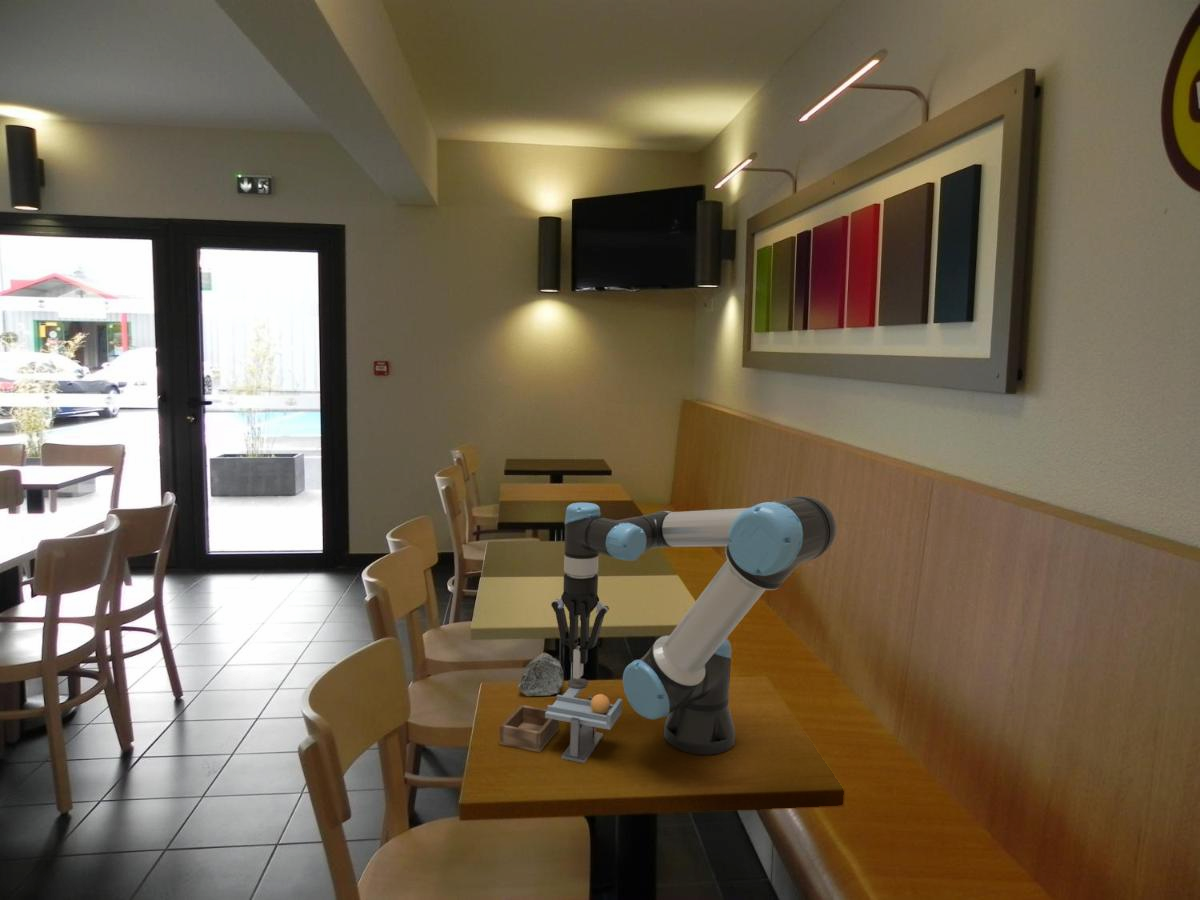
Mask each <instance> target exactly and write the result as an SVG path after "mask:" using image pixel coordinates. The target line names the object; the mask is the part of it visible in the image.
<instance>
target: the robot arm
mask: <svg viewBox="0 0 1200 900" xmlns="http://www.w3.org/2000/svg"><path fill="white" fill-rule="evenodd" d="M565 510H566V511H565V518H564V519H565V520H564V558H563V572H564V574H563V587H562V588H563V592H562V594H561V596H560V598H556V599H555V600H554V601H552V602H551V608H552V609H553V611H554V612H555V613H554V614H555V617H556V622H557V627H558V631H559V637H560V641H561V644H562V646H565V645H566V646H567V647H568V649H569V659H568V660H569V663H572V679H574V678H576V679H580V678H581V677H582V676H583V675H584V665H585V664H586V663H587V662H588V660H589V659H588V657H589V655H588V654H589V652H588V651H589V650H592V649H593V648H594V647H595V646H596V645H597V643H598V639H599V636H600V632H601V629H602V626H603V621H604V618H605V615H606V614H607V613H608V612H609V610H610V608H609V606H608V605H603V604H602V603H601V602H600V598H599V596H598V595H599V594H598V589H599V585H598V583H599V576H598V572H599V556H600V554H602V555H605V556H607V557H611V558H614V559H617V560H620V561H629V562H633V561H636V560H638V559H639V558H640V556H642V555H643V554H644V552H645V551H647V550H652V549H657V548H675V547H676V548H679V547H680V548H681V547H683V548H684V547H686V548H688V547H689V548H691V547H694V548H695V547H696V548H697V547H725V551H724V552H725V556H726V561H725V562H724V563H723V565H722V566H721V567H720V569H718V571H717V573H715V575H714V577H713V578H712V579H711V581H710V582H709V583H708V584H707V586H706V587H705V588H704V590H703V591H702V592H701V594H700V595H698V597H697V599H696V600H695V601H694V603H693V604H692V606H691V607H690V608H689V610H688V611H687V612H686V614H685V615H684V616H683V618H681V620H680V621H679V623H678V624H677V625H676V627H675V628H674V630H672V632H671V633H670V635H662V636H659V638H658V639H657V640H655V642H654V643H653V644H652V645H651V647H650V648H649V650H648V651H647V652H646V653H645V654H644V655H643V657H641V658H640V659H635V660H633V661H632V662H630V663H629V664H628V665H627V666H626V667H625V669H624V670H623V674H622V685H623V688H624V689H623V691H624V695H625V697H626V699H627V701H628V703H629V705H630V706H631V707H632V709H633V710H634V711H635V712H636V713H637V714H638V715H640V716H641V717H643V718H645V719H649V720H657V719H661V718H664V717H666V720H665V721H664V728H663V731H664V732H663V736H664V737H663V738H664V739H665V741H666V742H667V743H668V744H669V745H670V746H672V747H673V748H675V749H677V750H679V751H682V752H685V753H688V754H689V753H690V754H694V755H703V756H705V755H706V756H707V755H717V754H720V753H721V754H722V753H724V752H727V751H728V750H730V749H731V748H732V747H734V745H735V742H736V740H735V739H736V728H735V726H734V725H735V724H734V721H733V718H732V714H731V710H730V707H729V701H730V700H729V698H730V697H729V696H730V682H731V678H730V677H731V667H732V666H731V664H732V657H733V656H732V644H731V642H730V640H729V639H728V637H729V636H730V635H731V633H732V632H733V631H734V630H735V628H736V627H737V626H738V624H739V623H740V622H741V621H742V620H743V618H744V617H745V616H746V615H747V614H748V613H749V611H750V610H751V609H752V607H753V606H754V605H755V604H756V602H757V601H758V600H759V599H760V598H761V596H763V594H764V593H765V592H766V591H774V590H777V589H779V588H780V587H781V586H782V585H783V583H784V582H785V581H786V580H787V578H788V577H789V576H790V575H791V574H792V573H793V571H794V570H795V569H796V568H797V567H798V566H799V565H801V564H803V563H806V562H810V561H812V560H815V559H817V558H819V557H821V556H822V555H824V554H826V553H827V552H828V550H830V548H831V547H832V545H833V543H834V541H835V539H836V535H837V521H836V519H835V516H834V514H833V512H832V511H831V509H830V508H829V506H828V505H826V504H825V503H824V501H821V500H820V499H819V498H816V497H811V496H809V495H799V496H793V497H788V498H785V499H780V500H775V501H772V502H771V501H768V502H767V501H766V502H761V503H757V504H755V505H752V506H750V507H742V508H741V507H740V508H724V509H704V510H703V509H702V510H689V511H687V510H686V511H670V510H662V511H661V510H660V511H655V512H653V513H649V514H644V515H640V516H639V515H638V516H633V517H628V518H622V519H617V520H616V519H609V518H606V517H603V516H601V515H602V513H601V508H600V506H599V505H598V504H596V503H593V502H573V503H571V504H569V505H568V506H567V507H566V509H565ZM565 608H566V609H567V611H568V619H569V625H568V621H567V616H566V615H567V614H566V611H565ZM595 608H596V610H595V613H596V616H595V618H594V622H593V626H592V630H591V633H590V618H591V613H593V611H594V609H595ZM579 620H580V628H579ZM568 626H569V627H568ZM579 629H580V633H579ZM579 634H580V635H579ZM579 637H580V641H579ZM578 644H579V645H578Z"/></svg>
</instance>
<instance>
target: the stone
mask: <svg viewBox="0 0 1200 900" xmlns="http://www.w3.org/2000/svg"><path fill="white" fill-rule="evenodd" d="M520 679H521V680H520V683H519V684H518V686H517V687H518V689H519V690H520V692H521V693H522V694H523V695H524V696H526V697H533V696H535V697H537V696H539V697H540V696H541V697H543V696H552V695H554V694H555V695H557V694H559V693H560V692H561V689H562V687H563V685H564V684H565V682H564V681H565V680H564V670H563V666H562V665H561V662H560V660H558V659H557V658H556V657H553V656H552V655H550V654H549V653H547V652H542V653H541V654H539V655H538V656H536V657H535V658H534V659H532V660H531V661H530V662H529V663H527V665H526V666H525V669H524V670H523V673H522V675H521V678H520Z"/></svg>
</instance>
